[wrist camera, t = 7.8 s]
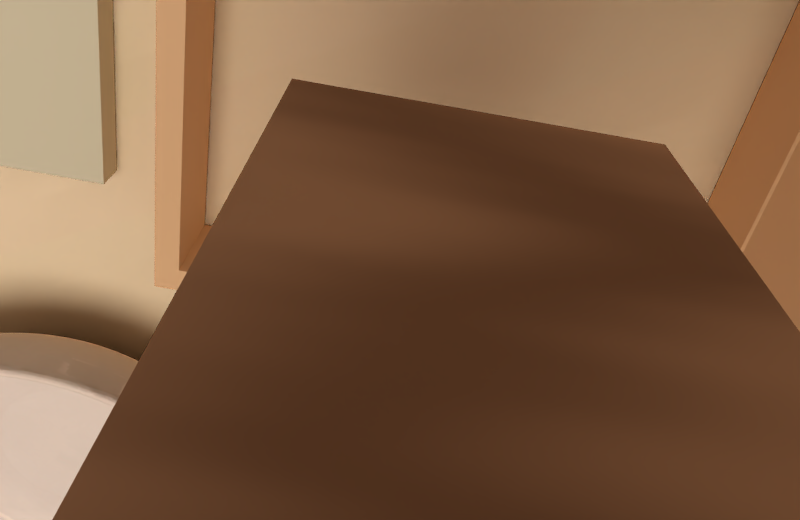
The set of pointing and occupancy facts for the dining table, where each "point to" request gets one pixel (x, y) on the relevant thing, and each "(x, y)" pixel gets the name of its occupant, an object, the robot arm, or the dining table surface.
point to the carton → (730, 201)
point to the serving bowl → (51, 416)
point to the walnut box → (455, 337)
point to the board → (58, 88)
